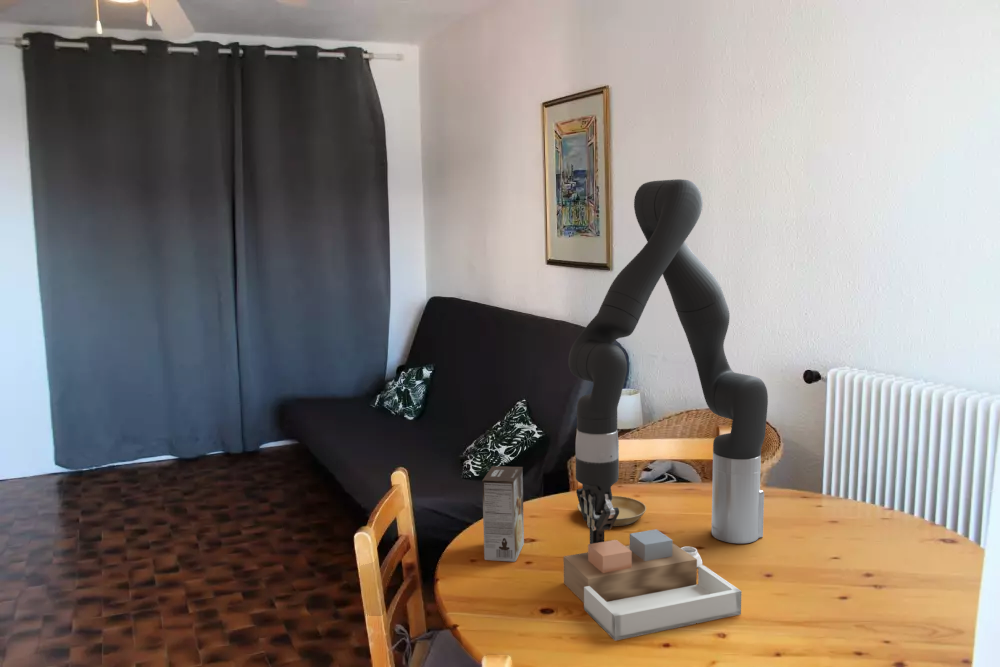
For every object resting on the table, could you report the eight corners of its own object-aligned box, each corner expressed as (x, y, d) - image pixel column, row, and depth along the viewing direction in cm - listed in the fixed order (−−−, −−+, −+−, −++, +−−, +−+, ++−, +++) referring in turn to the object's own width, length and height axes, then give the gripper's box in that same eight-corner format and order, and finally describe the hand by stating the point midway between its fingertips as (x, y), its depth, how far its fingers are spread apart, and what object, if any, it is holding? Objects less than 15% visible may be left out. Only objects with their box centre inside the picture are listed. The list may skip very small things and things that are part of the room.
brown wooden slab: (666, 564, 157) (666, 538, 156) (696, 586, 148) (696, 559, 147) (563, 583, 150) (563, 556, 149) (588, 607, 141) (588, 578, 140)
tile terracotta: (616, 555, 149) (616, 539, 149) (631, 567, 144) (631, 551, 144) (588, 560, 147) (588, 544, 147) (602, 573, 142) (602, 556, 142)
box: (702, 586, 148) (703, 564, 147) (740, 614, 137) (741, 591, 137) (584, 609, 140) (584, 586, 139) (614, 640, 130) (615, 616, 129)
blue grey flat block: (656, 544, 154) (656, 529, 153) (672, 556, 149) (672, 540, 148) (629, 549, 152) (629, 533, 151) (644, 561, 147) (644, 544, 146)
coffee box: (493, 542, 169) (491, 464, 167) (524, 543, 168) (523, 466, 166) (483, 560, 160) (481, 479, 158) (516, 562, 159) (515, 481, 157)
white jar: (681, 571, 154) (706, 568, 155) (681, 556, 154) (707, 553, 155) (670, 560, 159) (695, 558, 160) (670, 545, 159) (695, 543, 160)
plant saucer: (581, 504, 191) (581, 493, 190) (647, 507, 188) (647, 496, 187) (573, 528, 176) (573, 516, 176) (645, 532, 173) (645, 520, 173)
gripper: (634, 462, 142) (633, 559, 145) (599, 442, 155) (599, 532, 157) (594, 467, 140) (593, 566, 142) (562, 446, 152) (562, 538, 155)
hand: (596, 548), depth 150 cm, fingers closed
